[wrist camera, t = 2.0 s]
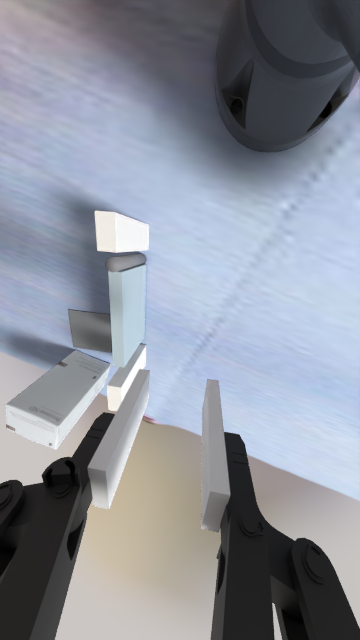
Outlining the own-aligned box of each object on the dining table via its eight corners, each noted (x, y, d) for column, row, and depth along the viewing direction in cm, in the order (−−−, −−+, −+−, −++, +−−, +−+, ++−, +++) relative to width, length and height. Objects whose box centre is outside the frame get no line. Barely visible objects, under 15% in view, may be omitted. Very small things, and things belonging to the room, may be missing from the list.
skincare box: (111, 363, 39) (62, 426, 26) (105, 384, 42) (57, 453, 28) (73, 348, 39) (2, 404, 25) (69, 370, 41) (2, 432, 28)
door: (127, 252, 31) (91, 255, 21) (146, 253, 30) (119, 258, 21) (128, 333, 36) (100, 367, 26) (144, 336, 36) (122, 370, 26)
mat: (69, 309, 36) (68, 309, 36) (109, 314, 35) (109, 315, 35) (74, 346, 39) (73, 347, 39) (111, 351, 38) (111, 352, 38)
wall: (136, 223, 29) (94, 210, 18) (149, 224, 29) (114, 212, 18) (136, 362, 39) (108, 410, 27) (145, 364, 38) (122, 412, 27)
